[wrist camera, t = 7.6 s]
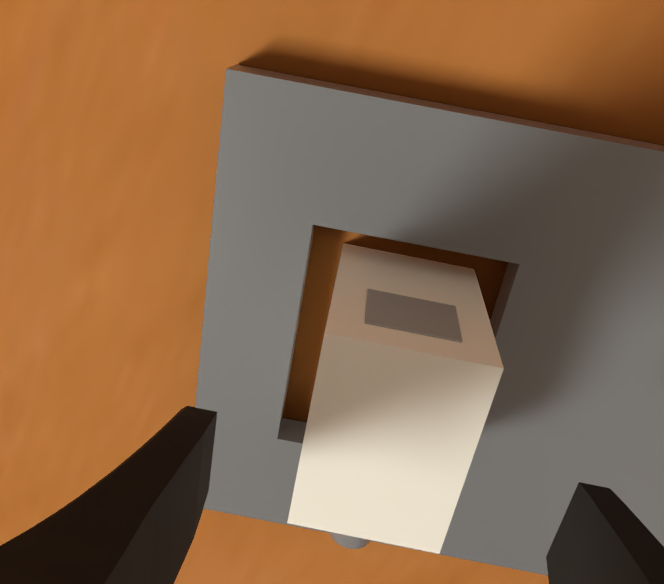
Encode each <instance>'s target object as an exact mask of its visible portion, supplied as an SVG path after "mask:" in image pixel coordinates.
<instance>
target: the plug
mask: <svg viewBox="0 0 664 584" xmlns="http://www.w3.org/2000/svg"><path fill="white" fill-rule="evenodd" d="M503 369H504V368H503V364H502V361H501V357H500V354H499V351H498V347H497V344H496V341H495V337H494V334H493V330H492V327H491V324H490V320H489V317H488V313H487V310H486V307H485V303H484V300H483V297H482V293H481V290H480V286H479V283H478V280H477V276H476V273H475V270H474V269H472V268H467V267H462V266H457V265H452V264H447V263H442V262H437V261H432V260H426V259H421V258H416V257H411V256H406V255H401V254H396V253H391V252H386V251H381V250H376V249H371V248H366V247H361V246H356V245H351V244H346V243H343V247H342V252H341V257H340V261H339V266H338V271H337V276H336V281H335V285H334V290H333V295H332V300H331V304H330V309H329V314H328V319H327V324H326V328H325V333H324V338H323V343H322V348H321V353H320V359H319V364H318V369H317V374H316V379H315V384H314V389H313V394H312V399H311V404H310V409H309V414H308V420H307V425H306V430H305V435H304V440H303V445H302V450H301V455H300V460H299V465H298V470H297V476H296V481H295V486H294V491H293V496H292V501H291V506H290V511H289V516H288V521H287V523H289V524H294V525H299V526H304V527H308V528H313V529H318V530H323V531H328V532H330V535H331V537H332V538H333V540H334V541H335V542H337V543H338V544H339V545H341V546H343V547H346V548H350V549H359V548H362V547H364V546H366V545H367V544H368V543H369V542H370V540H373V541H378V542H383V543H388V544H393V545H398V546H403V547H408V548H413V549H418V550H422V551H427V552H432V553H437V554H440V551H441V548H442V545H443V542H444V539H445V536H446V533H447V531H448V528H449V525H450V522H451V519H452V516H453V513H454V510H455V508H456V505H457V502H458V499H459V496H460V493H461V490H462V487H463V485H464V482H465V479H466V476H467V473H468V470H469V467H470V464H471V462H472V459H473V456H474V453H475V450H476V447H477V444H478V441H479V439H480V436H481V433H482V430H483V427H484V424H485V421H486V418H487V416H488V413H489V410H490V407H491V404H492V401H493V398H494V395H495V392H496V390H497V387H498V384H499V381H500V378H501V375H502V372H503Z"/></svg>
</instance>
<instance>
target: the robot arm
mask: <svg viewBox="0 0 664 584" xmlns="http://www.w3.org/2000/svg"><path fill="white" fill-rule="evenodd" d="M216 420H217V412H216V411H211V410H206V409H200V408H195V407H190V406H186V407H185V408H183V409H181V410H180V411H179V412H178V413H177V414H176V415H175V416H174V417H173V418H172V419H171V420H170V421H169V422H168V423H167V424H166V425H165V426H164V427H163V428H162V429H161V430H159V431H158V432H157V433H156V434H155V435H154V436H153V437H152V438H151V439H150V440H149V441H147V442H146V443H145V444H144V445H143V446H142V447H141V448H139V449H138V450H137V451H136V452H135V453H134V454H132V455H131V456H130V457H129V458H128V459H126V460H125V461H124V462H123V463H122V464H121V465H119V466H118V467H117V468H116V469H114V470H113V471H112V472H111V473H109V474H108V475H107V476H105V477H104V478H103V479H101V480H100V481H99V482H98V483H96V484H95V485H94V486H92V487H91V488H90V489H88V490H87V491H86V492H84V493H83V494H82V495H80V496H79V497H78V498H76V499H75V500H73V501H72V502H70V503H69V504H67V505H66V506H65V507H63V508H62V509H60V510H59V511H57V512H56V513H54V514H53V515H51V516H50V517H48V518H46V519H45V520H43V521H42V522H40V523H38V524H37V525H35V526H34V527H32V528H30V529H29V530H27V531H25V532H24V533H22V534H20V535H18V536H17V537H15V538H13V539H12V540H10V541H8V542H6V543H5V544H3V545H1V546H0V584H174V582H175V579H176V577H177V575H178V573H179V570H180V568H181V566H182V564H183V561H184V559H185V557H186V554H187V552H188V550H189V548H190V545H191V543H192V541H193V538H194V535H195V532H196V529H197V526H198V523H199V520H200V517H201V514H202V510H203V507H204V504H205V501H206V498H207V494H208V491H209V483H210V474H211V465H212V456H213V447H214V438H215V429H216ZM546 561H547V569H548V578H549V584H664V546H663V545H662V544H661V543H660V542H659V541H658V540H657V539H656V538H655V536H654V535H653V534H652V533H651V532H650V531H649V530H648V529H647V528H646V526H645V525H644V524H643V523H642V522H641V521H640V520H639V519H638V518H637V516H636V515H635V514H634V513H633V512H632V511H631V510H630V509H629V508H628V507H627V505H626V504H625V503H624V502H623V501H622V500H621V499H620V498H619V497H618V496H617V495H616V494H615V493H614V492H613V491H612V490H611V489H610V488H607V487H601V486H596V485H591V484H586V483H581V482H579V483H578V485H577V488H576V490H575V492H574V494H573V497H572V499H571V501H570V503H569V506H568V508H567V510H566V513H565V515H564V517H563V519H562V522H561V524H560V526H559V528H558V531H557V533H556V535H555V538H554V540H553V542H552V544H551V547H550V549H549V551H548V553H547V556H546Z"/></svg>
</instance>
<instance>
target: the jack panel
mask: <svg viewBox="0 0 664 584" xmlns="http://www.w3.org/2000/svg"><path fill="white" fill-rule="evenodd" d="M315 225H317V226H322V227H328V228H333V229H338V230H343V231H349V232H354V233H359V234H364V235H370V236H375V237H380V238H385V239H390V240H396V241H401V242H406V243H411V244H417V245H422V246H427V247H432V248H437V249H443V250H448V251H453V252H458V253H464V254H469V255H474V256H479V257H485V258H490V259H495V260H500V261H505V262H508V265H507V268H506V272H505V275H504V278H503V281H502V284H501V287H500V291H499V294H498V297H497V300H496V303H495V306H494V309H493V313H492V316H491V319H490V324H491V327H492V330H493V334H494V337H495V341H496V344H497V347H498V351H499V354H500V357H501V361H502V364H503V368H504V369H503V372H502V375H501V378H500V381H499V384H498V387H497V390H496V392H495V395H494V398H493V401H492V404H491V407H490V410H489V413H488V416H487V418H486V421H485V424H484V427H483V430H482V433H481V436H480V439H479V441H478V444H477V447H476V450H475V453H474V456H473V459H472V462H471V464H470V467H469V470H468V473H467V476H466V479H465V482H464V485H463V487H462V490H461V493H460V496H459V499H458V502H457V505H456V508H455V510H454V513H453V516H452V519H451V522H450V525H449V528H448V531H447V533H446V536H445V539H444V542H443V545H442V548H441V551H440V555H445V556H451V557H456V558H461V559H466V560H471V561H476V562H481V563H487V564H492V565H497V566H502V567H507V568H512V569H517V570H523V571H528V572H533V573H538V574H543V575H548V569H547V561H546V556H547V553H548V551H549V549H550V547H551V544H552V542H553V540H554V538H555V535H556V533H557V531H558V528H559V526H560V524H561V522H562V519H563V517H564V515H565V513H566V510H567V508H568V506H569V503H570V501H571V499H572V497H573V494H574V492H575V490H576V488H577V485H578V483H579V482H581V483H586V484H591V485H596V486H601V487H607V488H610V489H611V490H612V491H613V492H614V493H615V494H616V495H617V496H618V497H619V498H620V499H621V500H622V501H623V502H624V503H625V504H626V505H627V507H628V508H629V509H630V510H631V511H632V512H633V513H634V514H635V515H636V516H637V518H638V519H639V520H640V521H641V522H642V523H643V524H644V525H645V526H646V528H647V529H648V530H649V531H650V532H651V533H652V534H653V535H654V536H655V538H656V539H657V540H658V541H659V542H660V543H661V544H662V545H663V546H664V145H658V144H653V143H648V142H643V141H637V140H632V139H627V138H622V137H616V136H611V135H606V134H600V133H595V132H590V131H585V130H579V129H574V128H569V127H564V126H558V125H553V124H548V123H543V122H537V121H532V120H527V119H521V118H516V117H511V116H506V115H500V114H495V113H490V112H485V111H479V110H474V109H469V108H463V107H458V106H453V105H448V104H442V103H437V102H432V101H427V100H421V99H416V98H411V97H406V96H400V95H395V94H390V93H384V92H379V91H374V90H369V89H363V88H358V87H353V86H348V85H342V84H337V83H332V82H326V81H321V80H316V79H311V78H305V77H300V76H295V75H290V74H284V73H279V72H274V71H268V70H263V69H258V68H253V67H247V66H242V65H237V64H236V65H234V66H232V67H229V68H227V69H226V77H225V88H224V99H223V110H222V121H221V131H220V142H219V153H218V164H217V175H216V186H215V197H214V208H213V219H212V230H211V240H210V251H209V262H208V273H207V284H206V295H205V306H204V317H203V328H202V338H201V349H200V360H199V371H198V382H197V393H196V404H195V408H200V409H206V410H211V411H216V412H217V420H216V429H215V438H214V447H213V456H212V465H211V474H210V483H209V491H208V494H207V498H206V501H205V504H204V507H203V508H204V509H209V510H214V511H219V512H224V513H230V514H235V515H240V516H245V517H250V518H255V519H260V520H266V521H271V522H276V523H281V524H286V525H291V526H296V527H302V528H307V529H312V530H317V531H322V532H327V533H330V532H328V531H323V530H318V529H313V528H308V527H304V526H299V525H294V524H289V523H287V521H288V516H289V511H290V506H291V501H292V496H293V491H294V486H295V481H296V476H297V470H298V465H299V460H300V455H301V450H302V445H303V440H304V435H305V430H306V425H307V422H302V421H297V420H291V419H286V418H283V414H284V408H285V402H286V396H287V390H288V384H289V378H290V372H291V366H292V360H293V354H294V348H295V342H296V336H297V330H298V324H299V318H300V312H301V306H302V300H303V294H304V288H305V282H306V276H307V270H308V264H309V258H310V252H311V246H312V240H313V234H314V228H315ZM370 541H373V540H370ZM374 542H378V541H374ZM379 543H383V542H379ZM384 544H388V543H384ZM389 545H393V544H389ZM394 546H398V545H394ZM399 547H403V546H399ZM404 548H408V547H404ZM410 549H413V548H410ZM415 550H418V549H415ZM420 551H422V550H420ZM425 552H427V551H425ZM430 553H432V552H430ZM435 554H437V553H435Z"/></svg>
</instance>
